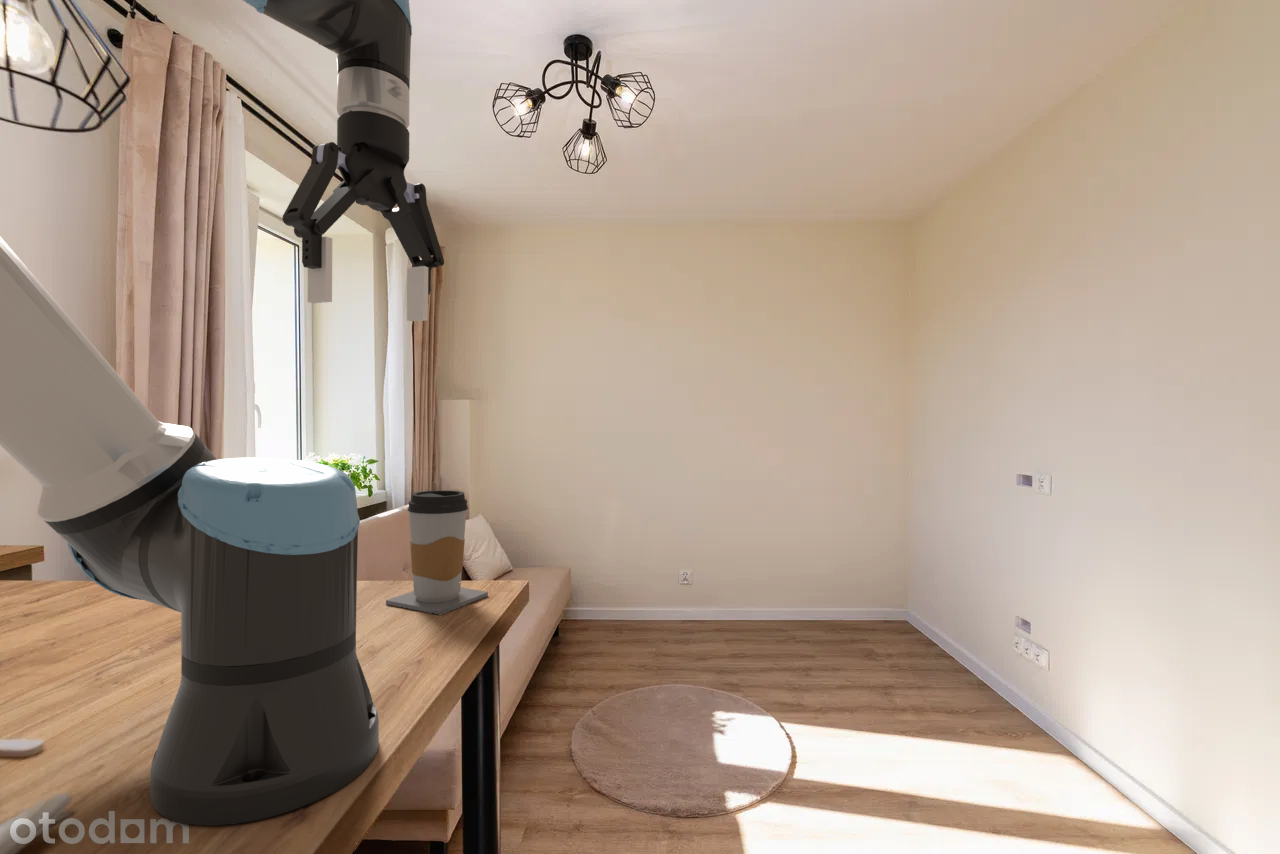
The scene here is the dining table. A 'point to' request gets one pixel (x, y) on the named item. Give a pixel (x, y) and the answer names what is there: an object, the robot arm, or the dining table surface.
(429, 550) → the coffee cup
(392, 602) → the coaster
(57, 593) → the dining table surface
